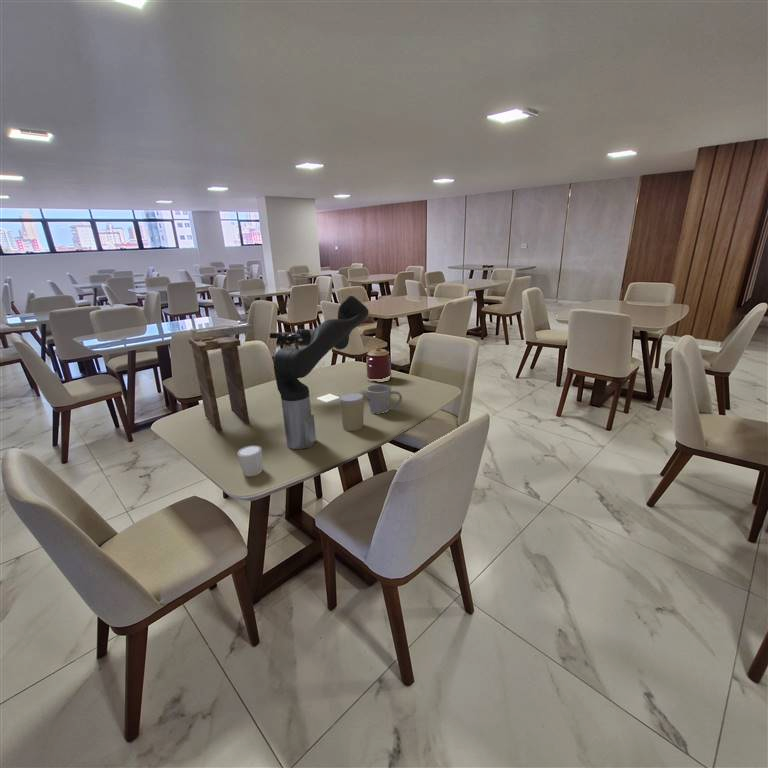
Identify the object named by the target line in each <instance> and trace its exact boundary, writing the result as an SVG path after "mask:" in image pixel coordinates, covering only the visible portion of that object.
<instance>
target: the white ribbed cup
mask: <svg viewBox="0 0 768 768" xmlns="http://www.w3.org/2000/svg"><path fill="white" fill-rule="evenodd" d="M262 452H263V449H262V447H261V446H259V445H247V446H244V447H241V448H240V449H239V450H237V456H238V457H237V458H238V461H239V465H240V468H241V470H242V474H243V475H244V476H246V477H254V476H257V475H260V474H261V473H262V471H263V457H262V456H263V453H262Z"/></svg>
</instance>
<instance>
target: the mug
mask: <svg viewBox="0 0 768 768" xmlns="http://www.w3.org/2000/svg"><path fill="white" fill-rule="evenodd" d="M365 392H366V396H367V397H366V398H367V401H368V406H369V412H370V413H371V412H374V413H382V412H385V411H387V410H388V409H389V410H390V409H393V408H396V407H397V406H399V405H400V404H401V403H402V401H403V396H402V394H401V393H400V391H395V390H393V391H392V387H391V386H390V385H387V384H381V383H380V384H372V385H369V386H367V387H365ZM393 394H394V395H398V396H399V399H398V400H397V402H395V403H394V404H392V405H390V401H391V395H393ZM374 413H373V414H374Z"/></svg>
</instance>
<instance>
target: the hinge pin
mask: <svg viewBox="0 0 768 768" xmlns="http://www.w3.org/2000/svg"><path fill="white" fill-rule="evenodd" d="M190 332H191V338H193V340H201V339H202V338H210V337H213V338H216V337H223V336H237V335H243V334H251V333H253V326H252V324H242V325H235V326H226V327H218V328H211V329H210V328H209V329H201V330H200V329H199V330H197V329H196V328H195V327H193V328H190Z"/></svg>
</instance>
